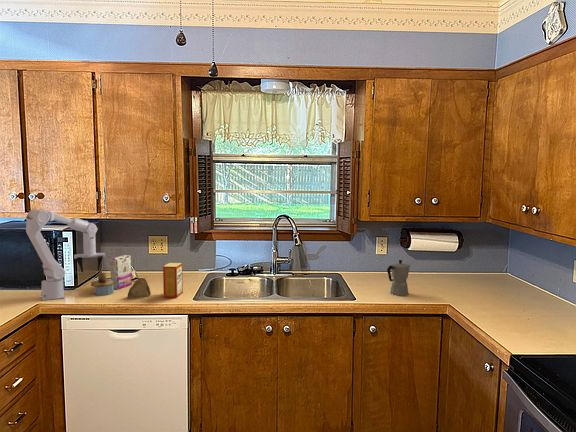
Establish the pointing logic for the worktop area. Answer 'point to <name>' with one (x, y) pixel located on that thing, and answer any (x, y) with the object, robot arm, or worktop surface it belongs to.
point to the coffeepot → (399, 278)
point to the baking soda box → (172, 280)
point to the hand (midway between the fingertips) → (90, 271)
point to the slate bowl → (104, 290)
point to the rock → (139, 289)
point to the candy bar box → (121, 271)
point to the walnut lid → (102, 281)
